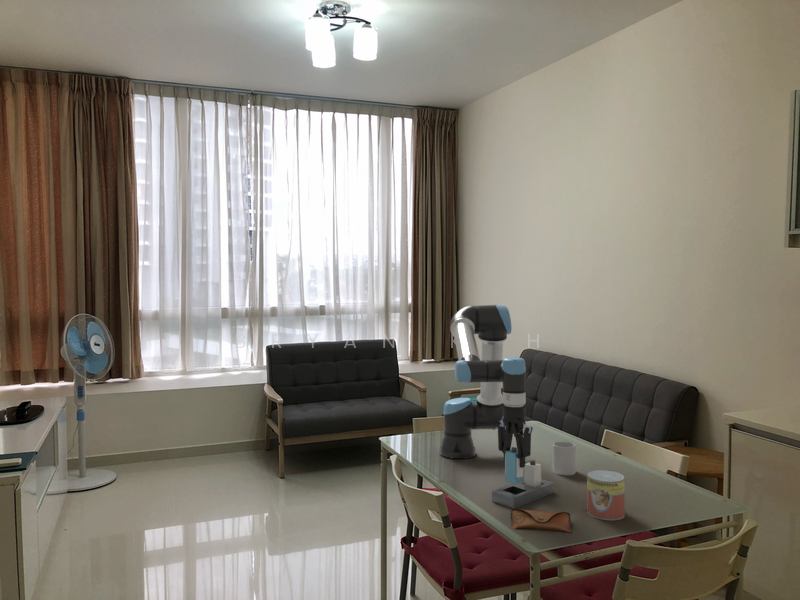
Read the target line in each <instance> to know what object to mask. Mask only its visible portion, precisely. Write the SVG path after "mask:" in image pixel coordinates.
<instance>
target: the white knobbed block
mask: <svg viewBox="0 0 800 600" xmlns="http://www.w3.org/2000/svg"><path fill="white" fill-rule="evenodd" d="M523 471H524V476H523V480H524V484H525V485H528V486H531V487H534V488H535V487H537V486H540V485H541V479H542V464H541V463H537V462H536V460H534V459H530V460H529V462H527V463H525V467H523Z"/></svg>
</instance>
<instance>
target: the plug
mask: <svg viewBox="0 0 800 600" xmlns="http://www.w3.org/2000/svg"><path fill="white" fill-rule="evenodd" d="M517 457H518V450H517V446H516V447H514V446H513V447H512V446H511V449H510V450H509V451H506V474H505V482H507V483H509V484H518V483H520V482H523V480H524V476H522V477H519V478H517V463H516V458H517Z"/></svg>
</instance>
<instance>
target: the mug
mask: <svg viewBox="0 0 800 600" xmlns="http://www.w3.org/2000/svg"><path fill="white" fill-rule="evenodd" d="M576 447H577V445H576V444H575V443H573V442H569V441H562V440H561V441H555V442H553V443H552V472H553V474H556V475H559V476H573V475H575V474H576V473H577V471H576V470H577V468H576V465H577V464H576V461H577V460H576V457H577V456H576V455H577V453H576V450H577V448H576Z"/></svg>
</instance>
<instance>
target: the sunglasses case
mask: <svg viewBox="0 0 800 600" xmlns="http://www.w3.org/2000/svg"><path fill="white" fill-rule="evenodd" d="M510 522H511V527H512V529H513V530H528V531H530V530H531V531H533V530H534V531H543V532H544V531H547V532H561V533H565V534H566V533H568V534H569V533H570V534H572V533H573V532H572V527H571V523H572V522H571V514H570V513H569V512H567V511H558V512H557V511H548V510H547V511H546V510H531V509H520V508H515V509H512V508H511V511H510Z"/></svg>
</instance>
